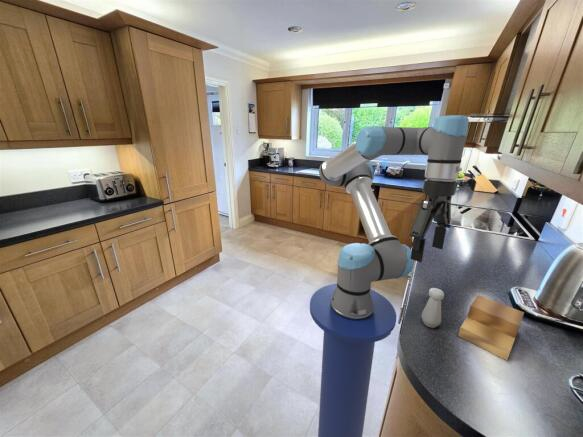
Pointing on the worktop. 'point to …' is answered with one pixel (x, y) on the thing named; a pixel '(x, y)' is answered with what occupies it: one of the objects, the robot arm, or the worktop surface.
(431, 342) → the worktop surface
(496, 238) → the worktop surface
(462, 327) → the stepped wooden block
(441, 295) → the salt shaker
